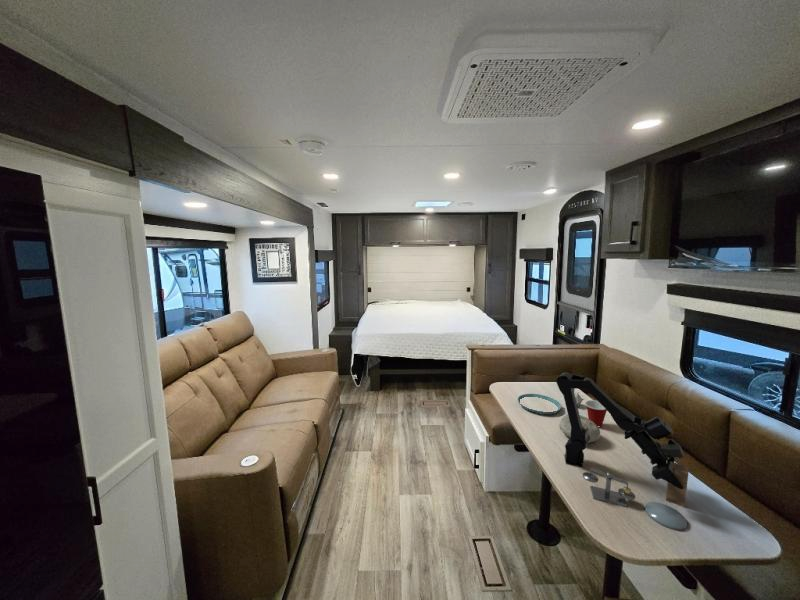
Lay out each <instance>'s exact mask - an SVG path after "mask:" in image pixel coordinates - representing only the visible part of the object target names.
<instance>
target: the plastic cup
mask: <svg viewBox="0 0 800 600" xmlns="http://www.w3.org/2000/svg"><path fill="white" fill-rule="evenodd" d="M584 405H585V407H586V409H587V411H586V412H587V418H588V419H589V420H591V421H592V422H594V423H595V424H596V425H597V426H602V427H603V424H604V420H605V418H606V417H605V416H606V415H607V412H608V411H607V410H606V409H605V408H604V407H603V406H602V405H601V404H600V403H599V402H598V401H597V400H596V399H595V400H594V399H593V400H592V399H590V400H586V401H584Z"/></svg>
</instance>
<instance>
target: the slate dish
mask: <svg viewBox="0 0 800 600" xmlns="http://www.w3.org/2000/svg"><path fill="white" fill-rule="evenodd" d="M644 510H645V513H646V514H647V516H648V517H649V518H650V519H652V521H654V522H656V523H657V524H659V525H660V526H662V527H665V528H668V529H670V530H675V531H683V530H685V529H686V528H687V526H688V521H687V520H688V519H686V517H685V516H684V515H683V514H682V513H681V512H680V511H678V510H677V509H676V508H674V507H672V506H669V505H667V504H664V503H662V502H658V501H648V502H647V503H645V507H644Z"/></svg>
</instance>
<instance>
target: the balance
mask: <svg viewBox="0 0 800 600" xmlns="http://www.w3.org/2000/svg"><path fill="white" fill-rule="evenodd" d="M589 471H590V472H589ZM589 471H588V472H583V473H582V478H583V479H585V481H587V482H591V483H594V484H595V483H598V482H599V477H598V476H597V475H595V474H594V473H597V474H599V475H601V476H605V478H606V481H605V488H603V487H598V486H594V485H589V487H590V491H591V495H592V499H593V500H598V501H602V502H606V503H609V504H613V505H618V506H622V507H626V506H627V504H626V501H625V500H629V501H632V500H635V499H636V495H635V493H634V492H633V491H632V489H631V488H630V487H629V482H628V481H627V480H624V479H622V478H619V477H617V476H616V475H615V476H614V475H612V474H611V472H609V471H607V472H604V471H602V470H599V469H596V468H594V467H590V470H589ZM592 472H594V473H592ZM612 480H613V481H616V482H619V483H621V484H625V485H626V486H623V488H619V489H618V491H615V490H612V489H611V485H612Z"/></svg>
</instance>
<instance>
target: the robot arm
mask: <svg viewBox="0 0 800 600" xmlns="http://www.w3.org/2000/svg"><path fill="white" fill-rule="evenodd" d="M555 381H556V385H557V387H558V390H559V391H560V393H561V394H562V396H563V398H564V404H565V407H566V411H567V415H568V416H569V420H570V424H571V437H569V438H568V440H567V441H566V443H565V445H564V448H565V453H564V461H565V464H567V465H569V466H570V465H571V466H575V467H580V468H583V467H584V462H585V461H584V460H585V453H584V450H585V449H586V448H587V446H588V444H589V443H588V442H589V440H590V438H591V437H590V436H589V432H588V429H584V427H583V426H582V423H581V419H580V412H579V406H577V403H576V399H575V394H574V393H575V390H576V389H581V390H582V389H583V390H586V391H587V392H588V393H589V394H590V395H591V396H592V398H594V399H595V400H596V401H598V402H599V403H600V404H601V405H602V406H603V407H604V408H605V409H606V410H607V411H606V412H608V413H609V414H610V416H611V417H612V420H613V421H614V422H615V424H616V425H617V427H619V429H621V430H622V431H624V439H625V440H627V439H629V438H631V440H632V441H633V442H634V443H635V444H636V445H637V446H638V447H639V448H640V449H641V453H642V455H646V457H647V458H649V460H650V462H649V463H650V464H651V465H652V468H651V469H652V470H651V476H652V477H653V478H654V479H655V480H663V481H665V482H667V483H668V482H669V483H670V484H672V485H674V486H676V487H677V488H679V489H684V488H683V486H682V485H681V483H680V482H679V480H678V479H677V477H676V476H675V474H674V468H672V467H671V466H670V461H671V462H674V463H675V458H679V459H683V458H684V457H685V456H684V451H683V449H682V446H681V444H680V443H679V442H677V441H676V440H674V439H673V438H669V439H667V442H665V443H664V444H663V443H660V442H659V441H658V440H662V439H663V438H666V437H669V436H671V435H673V434H674V431H673V429H672V427H671V426H670V425H669V423H668V422H667V421H665V420H664V419H662V418H660V416H658V415H657V416H655V417H652V418H651V419H648V420H646V419H643V418H641V417H638V416H636V415H634V413H632V412H631V411H629V410H628V409H626V407H623V406H621V405H619V404H618V403H617V402H616V401H614V399H612V398H611V396H610V395H609V394H607V393H606V392H605V391H604V390H603V389H602V388H601V387H600V386H599V385H598V384H597V383H596V382H595V381H594V380H593V379H592V378H590V377H588V376H586V377H585V376H582V375H579V374H572V373H570V372H568V371H565V372H562V373H561V374H560V375H558V377H557V378H556V380H555Z"/></svg>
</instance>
